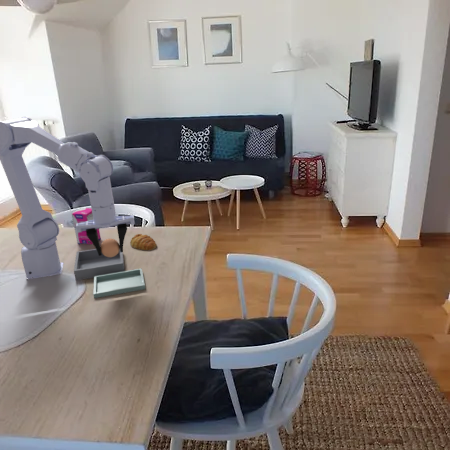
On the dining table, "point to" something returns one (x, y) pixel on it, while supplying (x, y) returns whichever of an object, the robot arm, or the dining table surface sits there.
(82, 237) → the supplement box
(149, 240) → the pastry
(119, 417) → the dining table surface
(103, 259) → the open square box
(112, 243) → the egg
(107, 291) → the tray
